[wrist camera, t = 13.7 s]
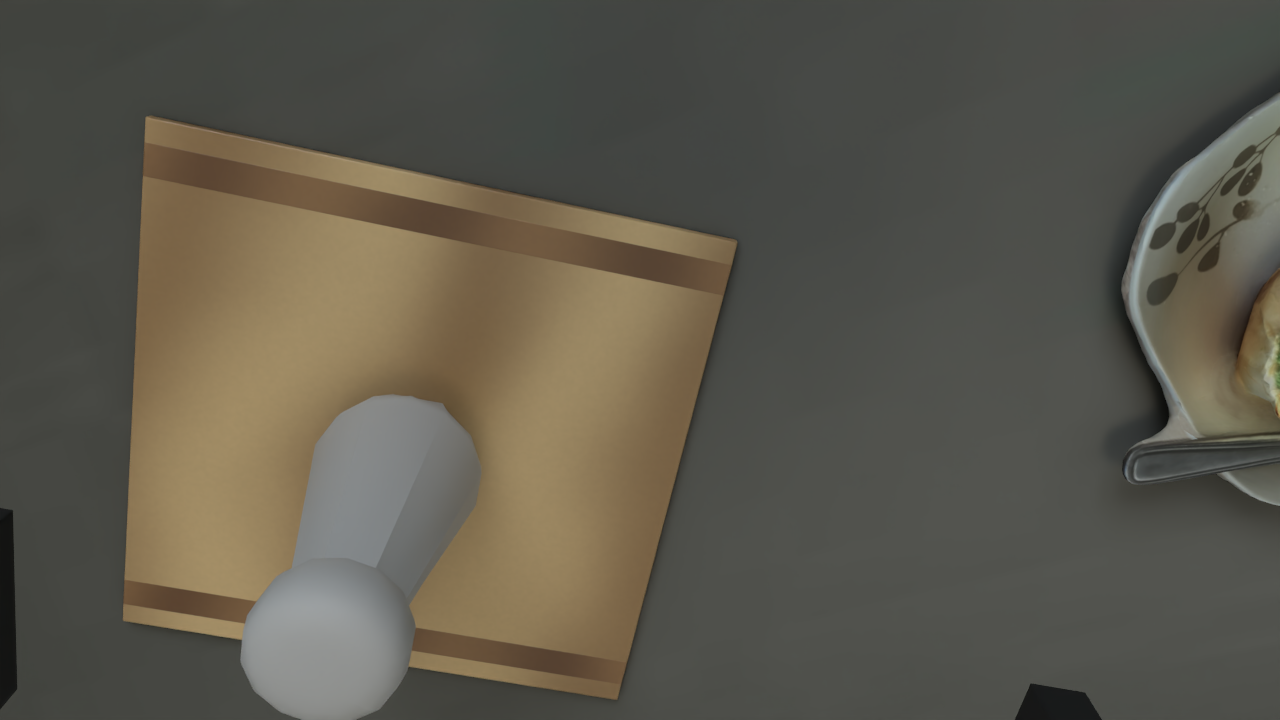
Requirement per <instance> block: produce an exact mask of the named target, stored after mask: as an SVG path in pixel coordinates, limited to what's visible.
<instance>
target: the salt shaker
mask: <svg viewBox="0 0 1280 720" xmlns="http://www.w3.org/2000/svg"><path fill="white" fill-rule="evenodd" d="M481 474H482V473H481V464H480V461H479V458H478V455H477V452H476V449H475V446H474V443H473V440H472V437H471V435H470V434H469V433H468V432H467V431H466V430H465V429H464V428H463V427H462V426H461V425H460V424H459V423H458V422H457V421H456V420H455V419H454V418H453V417H452V415H451V414H450V413H449V412H448V411H447V410H446V408H445V406H444V405H443V403H438V402H432V401H427V400H422V399H418V398H415V397H413V396H400V395H394V394H390V395H381V396H373V397H371V398H369V399H367V400H365V401H363V402H361V403H359V404H357V405H355V406H353V407H351V408H349V409H348V410H346V411H344V412H342V413H341V414H339V415H338V416H337V417H336V418H335V420H334V421H333V422H332V423H331V425H330V426H329V427H328V429H327V430H326V431H325V432H324V434H323V435H322V436H321V438H320V439H319V440H318V441H317V443H316V444H315V449H314V454H313V459H312V464H311V469H310V475H309V480H308V485H307V490H306V496H305V501H304V506H303V511H302V516H301V522H300V527H299V532H298V537H297V542H296V548H295V553H294V558H293V563H292V568H291V569H289V570H287V571H285V572H283V573H281V574H280V575H278V576H276V577H275V579H274V580H273V581H272V582H271V584H270V585H269V586H268V588H267V589H266V590H265V591H264V593H263V594H262V595H261V597H260V598H259V599H258V600H257V602H256V603H255V605H254V606H253V607H252V609H251V610H250V612H249V613H248V615H247V618H246V622H245V626H244V629H243V636H242V649H241V664H242V666H243V669H244V671H245V673H246V675H247V677H248V680H249V682H250V684H251V686H252V688H253V690H254V691H255V692H256V693H257V694H258V695H260V696H261V697H262V698H263V699H265V700H266V701H267V702H268V703H270V704H271V705H272V706H273V707H274V708H276V709H277V710H278V711H279V712H282V713H284V714H287V715H290V716H293V717H296V718H299V719H302V720H356V719H358V718H360V717H363V716H365V715H368V714H370V713H372V712H375V711H377V710H379V709H380V708H381V707H382V706H383V705H384V703H385V702H386V701H387V700H388V698H389V697H390V696H391V695H392V694H393V692H394V691H395V690H396V689H397V688H398V686H399V685H400V683H401V681H402V679H403V678H404V676H405V674H406V673H407V670H408V666H409V661H410V656H411V651H412V646H413V640H414V634H415V629H416V625H415V620H414V617H413V615H412V612H411V610H410V607H409V605H410V603H411V602H412V600H413V598H414V597H415V595H416V594H417V592H418V590H419V589H420V587H421V586H422V584H423V582H424V581H425V580H426V578H427V577H428V575H429V574H430V572H431V571H432V569H433V568H434V566H435V565H436V563H437V562H438V560H439V559H440V558H441V556H442V555H443V553H444V552H445V550H446V549H447V547H448V546H449V544H450V543H451V541H452V540H453V538H454V537H455V535H456V534H457V533H458V531H459V530H460V528H461V527H462V525H463V524H464V522H465V521H466V519H467V518H468V516H469V515H470V513H471V512H472V511H473V509H474V508H475V506H476V501H477V496H478V490H479V485H480V479H481Z"/></svg>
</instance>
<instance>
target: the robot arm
mask: <svg viewBox="0 0 1280 720" xmlns="http://www.w3.org/2000/svg"><path fill="white" fill-rule="evenodd" d="M16 690H17V665H16V624H15V583H14V542H13V510H8V509H2V508H0V709H1V708H2V706H3V705H4V704H5V703H6V702H7V700H8V699H9V698H10V697H11V696H12V695H13V693H14V692H15V691H16ZM1015 720H1102V719H1101V718H1100V716H1099V714H1098V713H1097V711H1096V710H1095V708H1094V706H1093V705H1092V703H1091V702H1090V700H1089V698H1088V697H1087V695H1086V693H1084V692H1078V691H1072V690H1066V689H1060V688H1054V687H1048V686H1042V685H1037V684H1030V687H1029V689H1028V691H1027V693H1026V696H1025V698H1024V700H1023V703H1022V705H1021V707H1020V709H1019V712H1018V714H1017V716H1016V719H1015Z"/></svg>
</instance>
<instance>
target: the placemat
mask: <svg viewBox="0 0 1280 720" xmlns="http://www.w3.org/2000/svg"><path fill="white" fill-rule="evenodd" d="M737 244H738V243H737V240H735V239H730V238H725V237H721V236H716V235H711V234H707V233H702V232H697V231H692V230H688V229H683V228H678V227H674V226H669V225H664V224H659V223H655V222H650V221H645V220H641V219H636V218H631V217H626V216H622V215H617V214H612V213H608V212H603V211H598V210H593V209H589V208H584V207H579V206H575V205H570V204H565V203H561V202H556V201H551V200H546V199H542V198H537V197H532V196H528V195H523V194H518V193H513V192H509V191H504V190H499V189H495V188H490V187H485V186H480V185H476V184H471V183H466V182H462V181H457V180H452V179H447V178H443V177H438V176H433V175H429V174H424V173H419V172H414V171H410V170H405V169H400V168H396V167H391V166H386V165H382V164H377V163H372V162H367V161H363V160H358V159H353V158H349V157H344V156H339V155H334V154H330V153H325V152H320V151H316V150H311V149H306V148H301V147H297V146H292V145H287V144H283V143H278V142H273V141H268V140H264V139H259V138H254V137H250V136H245V135H240V134H235V133H231V132H226V131H221V130H217V129H212V128H207V127H203V126H198V125H193V124H188V123H184V122H179V121H174V120H170V119H165V118H160V117H155V116H148V117H146V120H145V142H144V162H143V186H142V208H141V230H140V252H139V274H138V296H137V318H136V340H135V362H134V384H133V406H132V428H131V450H130V472H129V494H128V516H127V538H126V560H125V580H124V602H123V621H127V622H133V623H140V624H146V625H152V626H158V627H164V628H171V629H177V630H183V631H189V632H196V633H202V634H208V635H214V636H221V637H227V638H233V639H239V640H242V636H243V629H244V626H245V622H246V618H247V615H248V613H249V612H250V610H251V609H252V607H253V606H254V605H255V603H256V602H257V600H258V599H259V598H260V597H261V595H262V594H263V593H264V591H265V590H266V589H267V588H268V586H269V585H270V584H271V582H272V581H273V580H274V579H275V577H276V576H278V575H280V574H281V573H283V572H285V571H287V570H289V569H291V568H292V563H293V558H294V553H295V548H296V542H297V537H298V532H299V527H300V522H301V516H302V511H303V506H304V501H305V496H306V490H307V485H308V480H309V475H310V469H311V464H312V459H313V454H314V449H315V444H316V443H317V441H318V440H319V439H320V438H321V436H322V435H323V434H324V432H325V431H326V430H327V429H328V427H329V426H330V425H331V423H332V422H333V421H334V420H335V418H336V417H337V416H338V415H339V414H341V413H342V412H344V411H346V410H348V409H349V408H351V407H353V406H355V405H357V404H359V403H361V402H363V401H365V400H367V399H369V398H371V397H373V396H381V395H390V394H394V395H400V396H413V397H415V398H418V399H422V400H427V401H432V402H438V403H443V405H444V406H445V408H446V410H447V411H448V412H449V413H450V414H451V415H452V417H453V418H454V419H455V420H456V421H457V422H458V423H459V424H460V425H461V426H462V427H463V428H464V429H465V430H466V431H467V432H468V433H469V434H470V435H471V437H472V440H473V443H474V446H475V449H476V452H477V455H478V458H479V461H480V464H481V473H482V474H481V479H480V485H479V490H478V496H477V501H476V506H475V508H474V509H473V511H472V512H471V513H470V515H469V516H468V518H467V519H466V521H465V522H464V524H463V525H462V527H461V528H460V530H459V531H458V533H457V534H456V535H455V537H454V538H453V540H452V541H451V543H450V544H449V546H448V547H447V549H446V550H445V552H444V553H443V555H442V556H441V558H440V559H439V560H438V562H437V563H436V565H435V566H434V568H433V569H432V571H431V572H430V574H429V575H428V577H427V578H426V580H425V581H424V582H423V584H422V586H421V587H420V589H419V590H418V592H417V594H416V595H415V597H414V598H413V600H412V602H411V603H410V605H409V607H410V610H411V612H412V615H413V617H414V620H415V625H416V629H415V634H414V640H413V646H412V651H411V656H410V661H409V666H408V667H414V668H421V669H427V670H433V671H439V672H446V673H452V674H458V675H464V676H471V677H477V678H483V679H489V680H496V681H502V682H508V683H514V684H521V685H527V686H533V687H539V688H545V689H552V690H558V691H564V692H570V693H577V694H583V695H589V696H595V697H602V698H608V699H614V700H617V699H618V695H619V691H620V688H621V684H622V680H623V676H624V672H625V669H626V665H627V661H628V657H629V653H630V650H631V646H632V642H633V638H634V634H635V631H636V627H637V623H638V619H639V615H640V612H641V608H642V604H643V600H644V597H645V593H646V589H647V585H648V581H649V578H650V574H651V570H652V566H653V562H654V559H655V555H656V551H657V547H658V543H659V540H660V536H661V532H662V528H663V524H664V521H665V517H666V513H667V509H668V505H669V502H670V498H671V494H672V490H673V487H674V483H675V479H676V475H677V471H678V468H679V464H680V460H681V456H682V452H683V449H684V445H685V441H686V437H687V433H688V430H689V426H690V422H691V418H692V414H693V411H694V407H695V403H696V399H697V395H698V392H699V388H700V384H701V380H702V377H703V373H704V369H705V365H706V361H707V358H708V354H709V350H710V346H711V342H712V339H713V335H714V331H715V327H716V323H717V320H718V316H719V312H720V308H721V304H722V301H723V297H724V293H725V289H726V286H727V282H728V278H729V274H730V270H731V267H732V263H733V259H734V255H735V251H736V248H737Z"/></svg>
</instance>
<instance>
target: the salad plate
mask: <svg viewBox="0 0 1280 720" xmlns="http://www.w3.org/2000/svg"><path fill="white" fill-rule="evenodd" d="M1121 291H1122V296H1123V300H1124V304H1125V308H1126V312H1127V316H1128V317H1129V320H1130V322H1131V324H1132V326H1133V329H1134V331H1135V333H1136V336H1137V338H1138V341H1139V343H1140V346H1141V349H1142V351H1143V353H1144V355H1145V356H1146V359H1147V362H1148V364H1149V366H1150V367H1151V369H1152V370H1153V372H1154V373H1155V375H1156V377H1157V379H1158V381H1159V382H1160V384H1161V386H1162V389H1163V393H1164V396H1165V399H1166V402H1167V404H1168V407H1169V420H1168V423H1167V425H1166V427H1165V428H1164V429H1163V430H1162V431H1160V432H1159V433H1157V434H1156V435H1154V436H1153V437H1151V438H1148V439H1146V440H1143V441H1140V442H1139V443H1137V444H1135V445H1134V446H1133V447H1131V448H1130V449H1129V450H1128V451H1127V453H1126V455H1125V458H1124V460H1123V467H1122V471H1123V475H1124V477H1125V479H1126V480H1128V481H1129V482H1131V483H1132V484H1138V485H1150V484H1159V483H1165V482H1171V481H1179V480H1183V479H1189V478H1195V477H1201V476H1206V475H1212V474H1217V475H1218V476H1220V477H1221V478H1222V479H1224V480H1226V481H1229V482H1230V483H1231V484H1232V485H1233V486H1235V487H1236V488H1238V489H1239V490H1240V491H1242V492H1245V493H1247V494H1248V496H1250V497H1254V498H1256V499H1258V500H1261V501H1264V502H1267V503H1270V504H1274V505H1279V506H1280V92H1279V93H1277V94H1275V95H1274V96H1272V97H1271V98H1270V99H1268V100H1267V101H1265V102H1264V103H1262V104H1260V105H1258V106H1256V107H1255V108H1253V109H1252V110H1251V111H1249V112H1248V113H1247V114H1245V115H1244V116H1243V117H1242V118H1240V119H1239V120H1238V121H1237V122H1235V123H1234V124H1233V125H1232V126H1231V127H1230V128H1229V129H1228V130H1227V131H1226V132H1224V133H1223V134H1222V135H1221V136H1220V137H1218V138H1217V139H1216V140H1215V141H1213V142H1212V143H1211V144H1210V145H1209V146H1208V147H1207V148H1206V149H1204V150H1203V151H1202V152H1201V153H1200V154H1198V155H1197V156H1196V157H1194V158H1192V159H1191V160H1189V161H1188V162H1186V163H1185V164H1184V165H1182V166H1181V167H1180V168H1179V169H1177V170H1176V171H1175V172H1174V173H1173V174H1172V176H1171V177H1170V178H1169V180H1168V181H1167V182H1166V184H1165V185H1164V186H1163V187H1162V189H1161V190H1160V192H1159V194H1158V195H1157V197H1156V198H1155V200H1154V202H1153V203H1152V205H1151V206H1150V207H1149V209H1148V211H1147V212H1146V214H1145V215H1144V217H1143V218H1142V220H1141V223H1140V226H1139V228H1138V231H1137V234H1136V236H1135V239H1134V242H1133V244H1132V248H1131V252H1130V256H1129V260H1128V263H1127V267H1126V270H1125V273H1124V276H1123V279H1122V286H1121Z"/></svg>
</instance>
